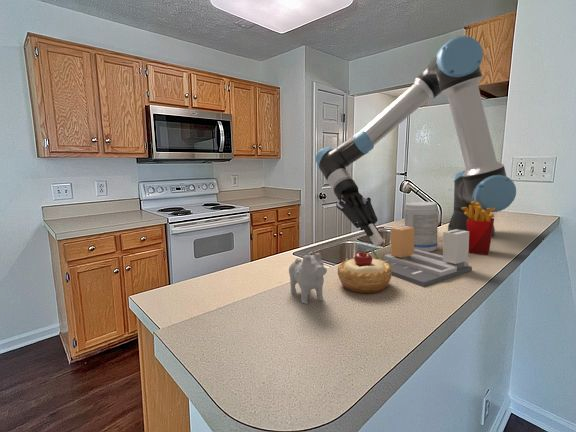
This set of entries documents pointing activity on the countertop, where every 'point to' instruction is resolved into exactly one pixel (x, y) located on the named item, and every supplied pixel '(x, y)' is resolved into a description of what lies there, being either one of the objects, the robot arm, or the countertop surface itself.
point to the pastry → (364, 273)
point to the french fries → (479, 228)
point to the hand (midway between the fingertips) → (379, 243)
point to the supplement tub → (423, 224)
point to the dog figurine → (308, 275)
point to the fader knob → (402, 242)
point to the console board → (434, 261)
